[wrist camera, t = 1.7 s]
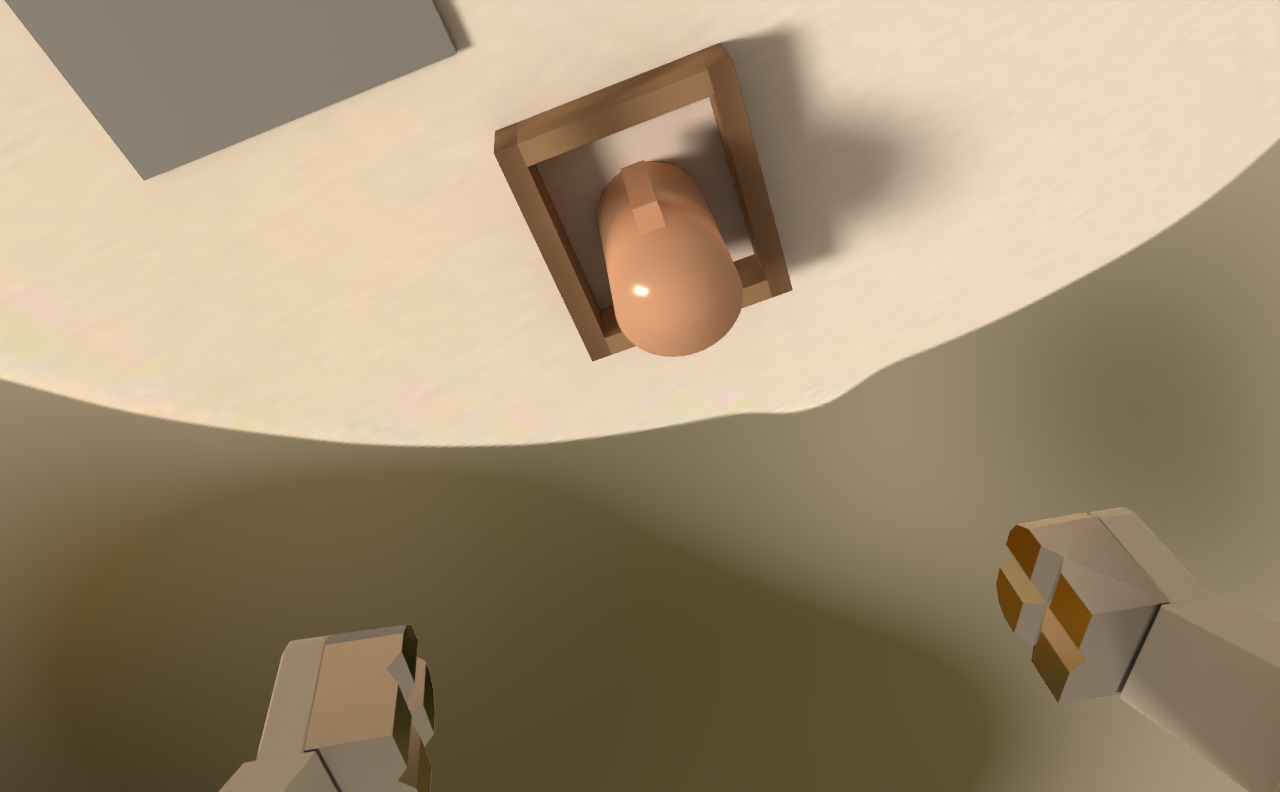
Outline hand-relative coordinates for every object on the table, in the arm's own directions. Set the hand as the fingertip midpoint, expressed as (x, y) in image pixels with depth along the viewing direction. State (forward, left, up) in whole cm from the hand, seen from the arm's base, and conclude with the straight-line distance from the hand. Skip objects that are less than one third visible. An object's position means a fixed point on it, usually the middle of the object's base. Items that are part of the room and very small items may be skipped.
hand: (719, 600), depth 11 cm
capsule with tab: (0, +8, -28) cm, 29 cm away
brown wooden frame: (0, +7, -28) cm, 29 cm away
